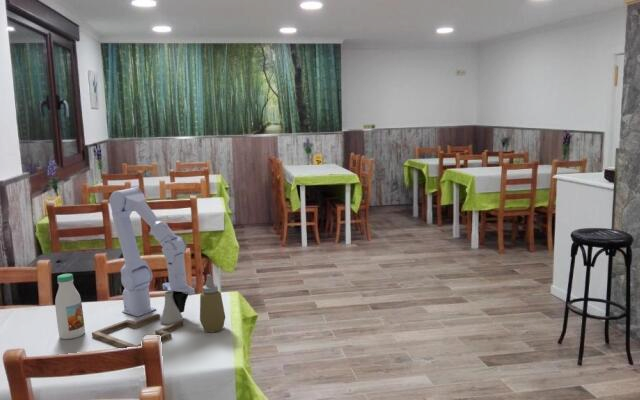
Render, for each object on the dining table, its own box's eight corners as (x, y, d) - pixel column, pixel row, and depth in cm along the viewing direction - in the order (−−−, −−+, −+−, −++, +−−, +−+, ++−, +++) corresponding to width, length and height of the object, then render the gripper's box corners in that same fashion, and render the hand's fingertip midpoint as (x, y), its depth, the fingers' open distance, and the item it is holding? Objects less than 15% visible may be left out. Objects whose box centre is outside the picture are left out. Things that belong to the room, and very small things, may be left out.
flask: (176, 325, 183) (173, 296, 181) (156, 324, 185) (153, 296, 183) (186, 316, 190) (183, 289, 188) (167, 316, 191) (164, 288, 190)
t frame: (92, 337, 177) (91, 332, 176) (149, 315, 193) (148, 311, 193) (135, 353, 163) (135, 348, 163) (192, 328, 180) (192, 324, 179)
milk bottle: (59, 341, 174) (51, 280, 171) (58, 333, 181) (51, 274, 178) (86, 336, 177) (79, 275, 174) (84, 328, 184) (77, 270, 181)
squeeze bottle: (202, 325, 182) (197, 272, 179) (227, 323, 182) (223, 270, 180) (199, 335, 174) (194, 279, 171) (225, 333, 174) (220, 277, 172)
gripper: (153, 273, 189) (157, 312, 191) (181, 279, 180) (185, 319, 182) (170, 268, 194) (174, 305, 196) (198, 274, 186) (201, 312, 188)
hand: (180, 312), depth 190 cm, fingers closed, pressing on flask
